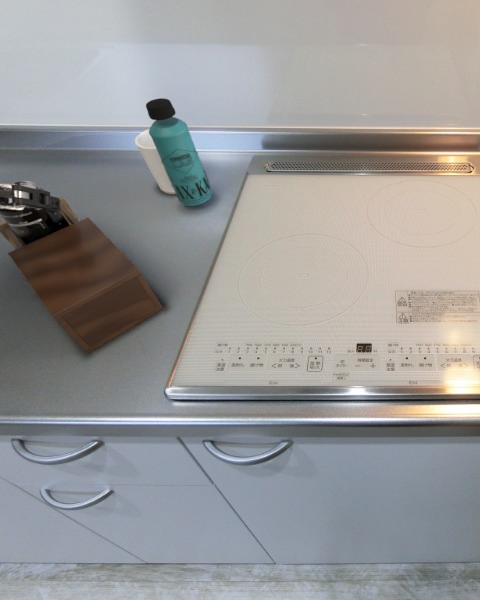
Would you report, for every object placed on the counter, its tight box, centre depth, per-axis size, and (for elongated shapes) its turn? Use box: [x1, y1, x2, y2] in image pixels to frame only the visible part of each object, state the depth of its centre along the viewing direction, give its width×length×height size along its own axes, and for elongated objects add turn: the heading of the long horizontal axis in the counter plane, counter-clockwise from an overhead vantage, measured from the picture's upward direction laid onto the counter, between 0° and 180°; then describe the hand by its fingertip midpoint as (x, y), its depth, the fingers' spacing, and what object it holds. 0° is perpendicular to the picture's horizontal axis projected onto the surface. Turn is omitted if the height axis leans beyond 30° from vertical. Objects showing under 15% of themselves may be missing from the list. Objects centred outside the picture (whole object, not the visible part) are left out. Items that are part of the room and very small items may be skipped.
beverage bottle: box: [145, 97, 212, 207], centre depth 79 cm, size 6×7×20 cm
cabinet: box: [7, 217, 164, 354], centre depth 66 cm, size 18×12×9 cm, turn 47°
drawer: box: [0, 195, 80, 250], centre depth 72 cm, size 21×10×7 cm, turn 47°
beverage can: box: [0, 180, 70, 245], centre depth 70 cm, size 7×7×12 cm
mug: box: [134, 128, 177, 195], centre depth 87 cm, size 11×9×10 cm
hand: (34, 204), depth 69 cm, fingers closed on beverage can, 7 cm apart
